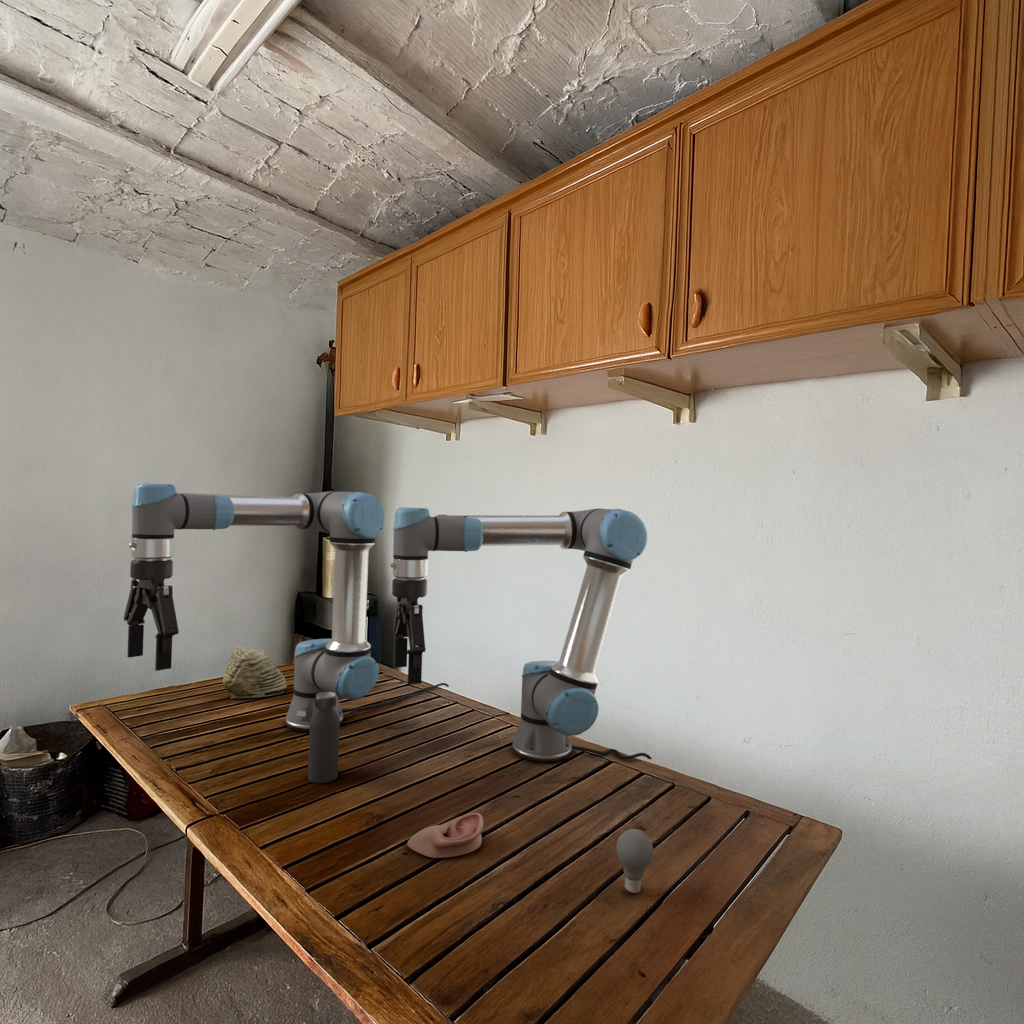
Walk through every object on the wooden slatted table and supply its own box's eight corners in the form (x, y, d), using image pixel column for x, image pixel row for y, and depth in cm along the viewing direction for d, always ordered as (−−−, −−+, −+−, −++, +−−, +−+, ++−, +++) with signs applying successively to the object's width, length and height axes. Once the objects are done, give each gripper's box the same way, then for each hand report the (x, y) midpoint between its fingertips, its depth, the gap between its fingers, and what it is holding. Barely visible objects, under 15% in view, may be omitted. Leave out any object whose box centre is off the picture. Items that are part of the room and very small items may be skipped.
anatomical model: (401, 831, 114) (423, 801, 125) (400, 853, 114) (422, 821, 125) (472, 842, 111) (488, 811, 122) (471, 864, 111) (487, 831, 122)
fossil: (218, 695, 195) (220, 647, 195) (278, 685, 208) (279, 640, 207) (228, 703, 189) (230, 653, 188) (289, 692, 201) (290, 645, 201)
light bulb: (610, 879, 108) (613, 822, 108) (644, 879, 109) (647, 822, 109) (619, 902, 102) (622, 840, 102) (655, 901, 103) (658, 840, 103)
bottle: (329, 784, 139) (332, 702, 139) (302, 781, 141) (305, 699, 140) (342, 772, 146) (345, 693, 145) (316, 769, 147) (319, 691, 147)
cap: (330, 709, 140) (330, 698, 140) (311, 707, 141) (311, 696, 141) (339, 703, 145) (339, 692, 145) (321, 701, 146) (321, 691, 145)
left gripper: (108, 554, 134) (104, 654, 134) (159, 565, 118) (155, 678, 119) (146, 552, 140) (143, 648, 140) (199, 563, 124) (195, 671, 124)
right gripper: (382, 571, 148) (379, 661, 149) (405, 586, 125) (402, 693, 126) (413, 571, 151) (411, 659, 152) (442, 585, 128) (439, 690, 128)
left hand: (148, 662), depth 129 cm, fingers open, 13 cm apart
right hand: (407, 675), depth 139 cm, fingers open, 13 cm apart
